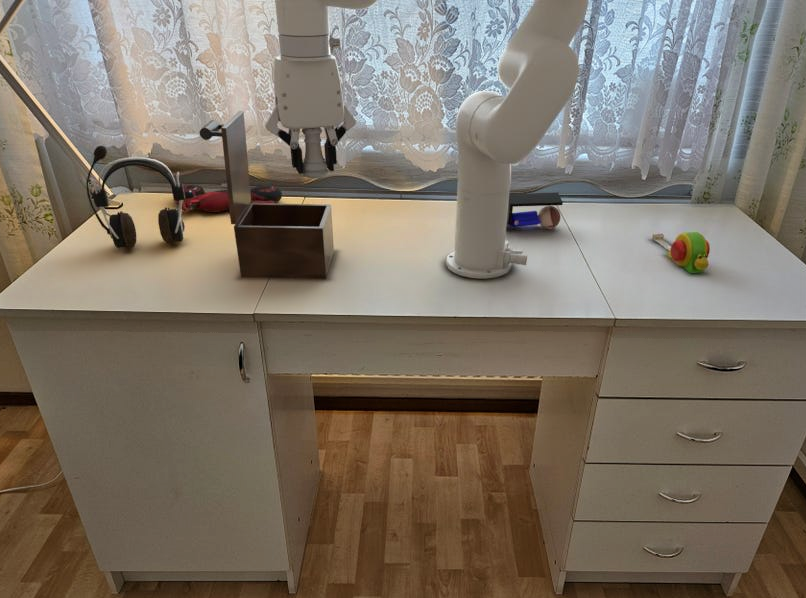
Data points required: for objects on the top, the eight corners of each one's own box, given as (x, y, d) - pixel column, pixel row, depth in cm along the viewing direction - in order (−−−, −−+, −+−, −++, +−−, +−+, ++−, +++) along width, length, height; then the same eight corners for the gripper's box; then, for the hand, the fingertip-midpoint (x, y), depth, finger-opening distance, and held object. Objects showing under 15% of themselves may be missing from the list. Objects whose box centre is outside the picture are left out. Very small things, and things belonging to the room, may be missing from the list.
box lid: (243, 111, 117) (213, 109, 117) (225, 128, 106) (192, 126, 106) (251, 200, 126) (222, 199, 126) (235, 224, 115) (204, 222, 115)
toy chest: (333, 251, 132) (331, 204, 126) (326, 279, 121) (322, 228, 116) (255, 250, 131) (249, 202, 126) (241, 277, 121) (233, 226, 115)
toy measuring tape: (685, 278, 125) (693, 246, 121) (642, 239, 141) (648, 209, 137) (716, 277, 126) (725, 244, 122) (670, 238, 142) (677, 208, 138)
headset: (100, 258, 126) (72, 153, 116) (103, 243, 132) (76, 142, 122) (194, 248, 131) (175, 146, 121) (192, 234, 137) (174, 136, 127)
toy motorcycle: (180, 201, 158) (156, 214, 143) (178, 179, 156) (153, 190, 141) (285, 206, 159) (272, 219, 144) (284, 184, 157) (271, 195, 142)
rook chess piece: (333, 176, 107) (330, 126, 103) (307, 180, 105) (302, 128, 101) (323, 169, 110) (319, 120, 106) (297, 173, 108) (293, 122, 104)
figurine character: (494, 239, 143) (563, 232, 142) (492, 205, 139) (563, 198, 138) (490, 227, 149) (557, 221, 148) (489, 195, 144) (557, 188, 144)
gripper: (354, 42, 103) (359, 160, 113) (244, 45, 98) (259, 168, 108) (367, 49, 97) (371, 172, 107) (250, 52, 92) (266, 181, 102)
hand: (314, 169), depth 107 cm, fingers closed on rook chess piece, 4 cm apart
